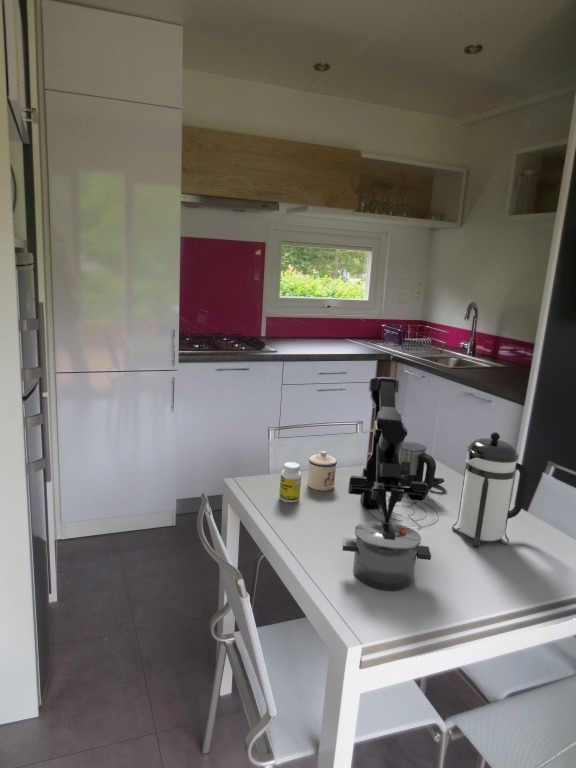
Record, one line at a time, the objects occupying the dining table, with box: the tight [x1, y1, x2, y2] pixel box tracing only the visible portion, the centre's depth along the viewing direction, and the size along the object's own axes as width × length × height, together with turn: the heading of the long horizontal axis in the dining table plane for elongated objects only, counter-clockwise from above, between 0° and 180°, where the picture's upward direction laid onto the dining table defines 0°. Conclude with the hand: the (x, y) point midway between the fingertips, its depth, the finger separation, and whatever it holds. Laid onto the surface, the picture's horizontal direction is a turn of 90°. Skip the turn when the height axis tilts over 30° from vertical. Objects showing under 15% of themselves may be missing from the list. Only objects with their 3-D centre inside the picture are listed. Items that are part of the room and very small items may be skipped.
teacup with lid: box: [307, 450, 338, 492], centre depth 176 cm, size 12×9×12 cm
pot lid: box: [354, 520, 421, 549], centre depth 125 cm, size 15×15×2 cm
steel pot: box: [342, 536, 432, 592], centre depth 126 cm, size 15×20×8 cm
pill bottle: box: [279, 461, 302, 504], centre depth 163 cm, size 6×6×11 cm
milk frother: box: [399, 441, 445, 491], centre depth 179 cm, size 14×16×15 cm
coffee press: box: [451, 432, 529, 549], centre depth 146 cm, size 17×16×30 cm
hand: (387, 522), depth 127 cm, fingers closed
